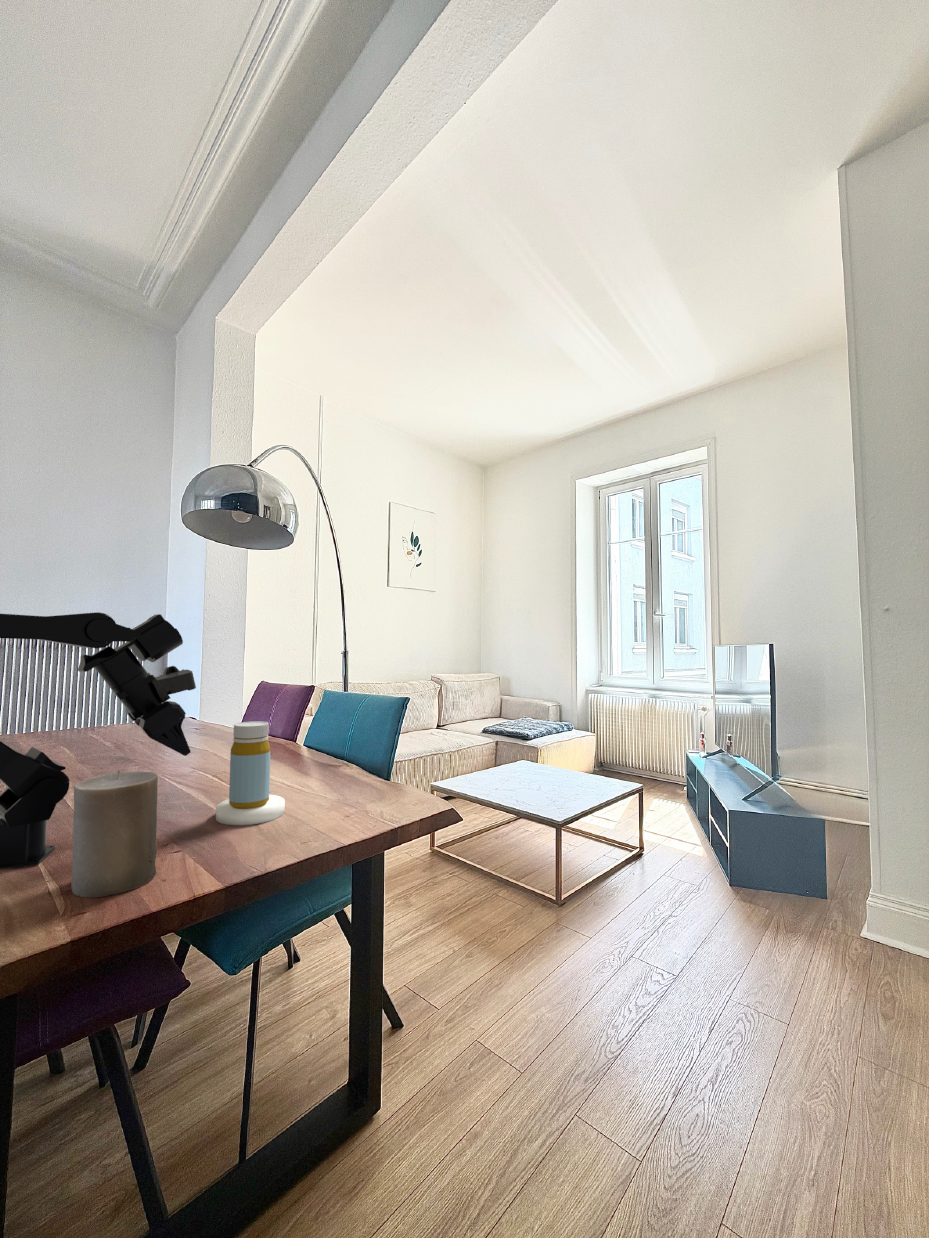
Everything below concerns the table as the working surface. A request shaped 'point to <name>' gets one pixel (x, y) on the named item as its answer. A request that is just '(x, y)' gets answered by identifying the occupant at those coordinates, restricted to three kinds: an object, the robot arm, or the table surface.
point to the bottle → (250, 765)
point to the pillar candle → (114, 833)
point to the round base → (250, 812)
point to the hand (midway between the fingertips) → (181, 748)
